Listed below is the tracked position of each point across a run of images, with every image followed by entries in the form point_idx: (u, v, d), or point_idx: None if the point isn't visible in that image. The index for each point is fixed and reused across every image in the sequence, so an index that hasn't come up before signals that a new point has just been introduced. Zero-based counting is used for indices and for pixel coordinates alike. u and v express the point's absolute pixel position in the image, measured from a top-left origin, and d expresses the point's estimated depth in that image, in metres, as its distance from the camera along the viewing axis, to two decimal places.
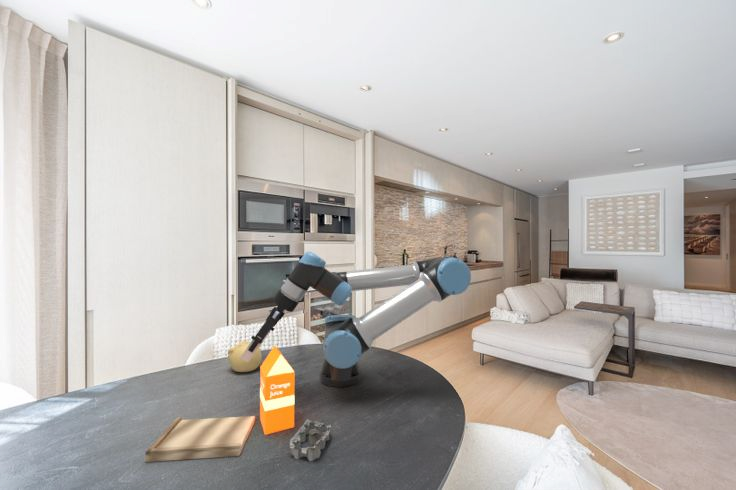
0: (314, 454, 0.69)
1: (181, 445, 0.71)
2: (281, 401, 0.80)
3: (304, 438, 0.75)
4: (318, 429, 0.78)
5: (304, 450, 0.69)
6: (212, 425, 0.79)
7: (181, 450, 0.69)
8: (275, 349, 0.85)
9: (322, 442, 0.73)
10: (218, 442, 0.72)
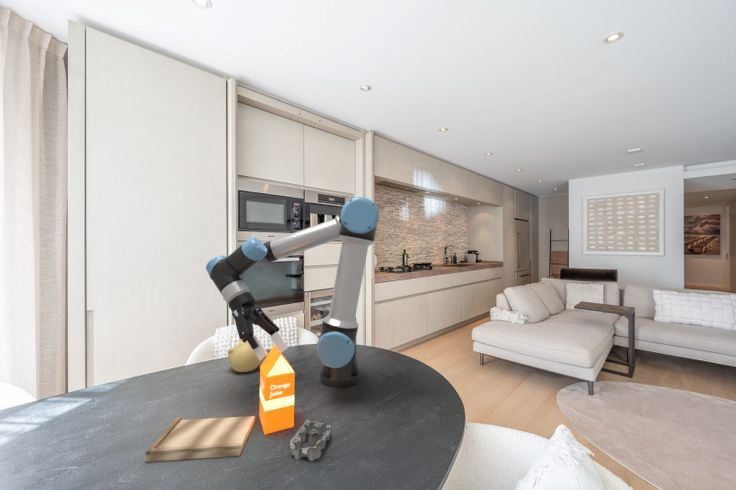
0: (315, 454, 0.69)
1: (181, 445, 0.71)
2: (281, 401, 0.80)
3: (304, 438, 0.75)
4: (318, 429, 0.78)
5: (305, 450, 0.69)
6: (212, 425, 0.79)
7: (181, 450, 0.69)
8: (275, 349, 0.84)
9: (322, 442, 0.73)
10: (218, 442, 0.72)
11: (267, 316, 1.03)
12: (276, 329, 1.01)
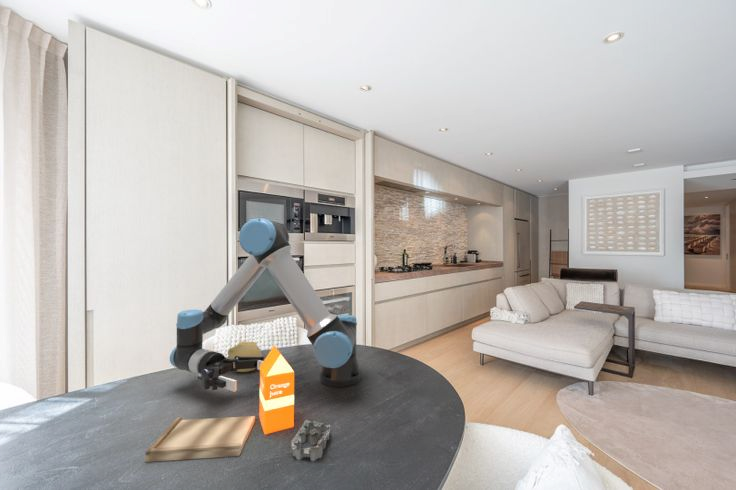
0: (316, 454, 0.69)
1: (181, 445, 0.71)
2: (281, 400, 0.80)
3: (304, 439, 0.75)
4: (318, 429, 0.77)
5: (306, 450, 0.69)
6: (212, 425, 0.79)
7: (181, 450, 0.69)
8: (275, 349, 0.85)
9: (323, 442, 0.73)
10: (218, 442, 0.72)
11: None
12: (258, 359, 0.97)
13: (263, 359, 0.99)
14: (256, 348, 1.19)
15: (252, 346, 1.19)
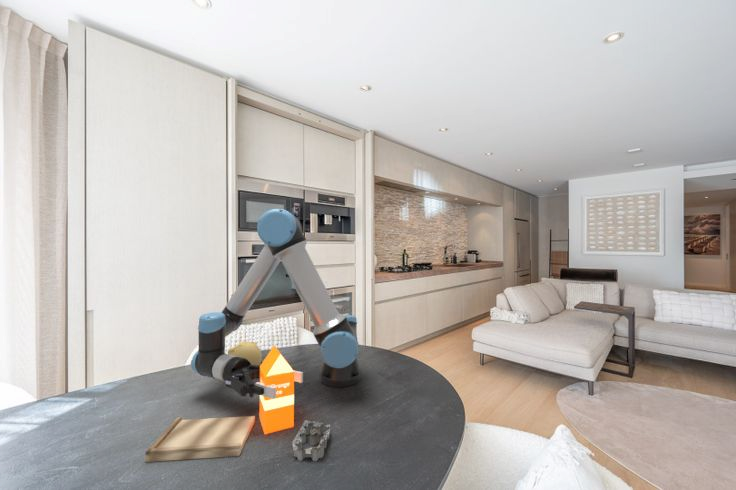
0: (318, 454, 0.69)
1: (181, 445, 0.71)
2: (281, 400, 0.80)
3: (304, 439, 0.75)
4: (317, 429, 0.77)
5: (308, 451, 0.69)
6: (212, 425, 0.79)
7: (181, 450, 0.69)
8: (274, 349, 0.85)
9: (324, 441, 0.73)
10: (218, 442, 0.72)
11: None
12: None
13: None
14: (256, 348, 1.19)
15: (252, 346, 1.19)
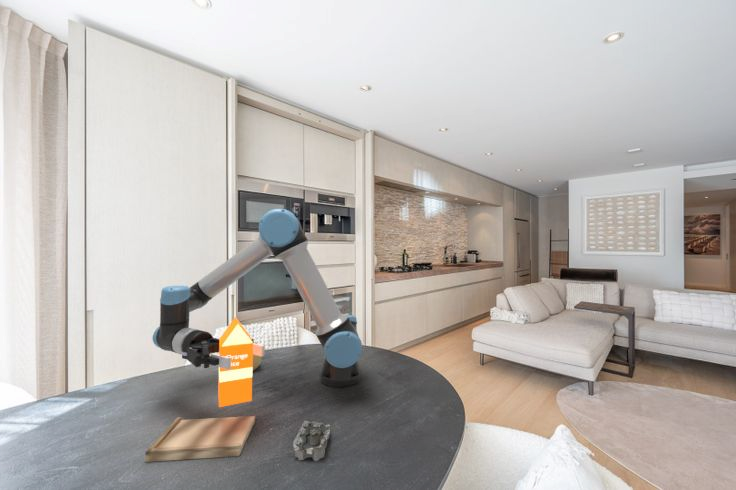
0: (319, 454, 0.69)
1: (181, 445, 0.71)
2: (238, 372, 0.76)
3: (304, 439, 0.75)
4: (317, 429, 0.77)
5: (309, 451, 0.69)
6: (212, 425, 0.79)
7: (181, 450, 0.69)
8: (235, 320, 0.81)
9: (325, 441, 0.73)
10: (218, 442, 0.72)
11: None
12: None
13: (253, 341, 0.88)
14: None
15: None
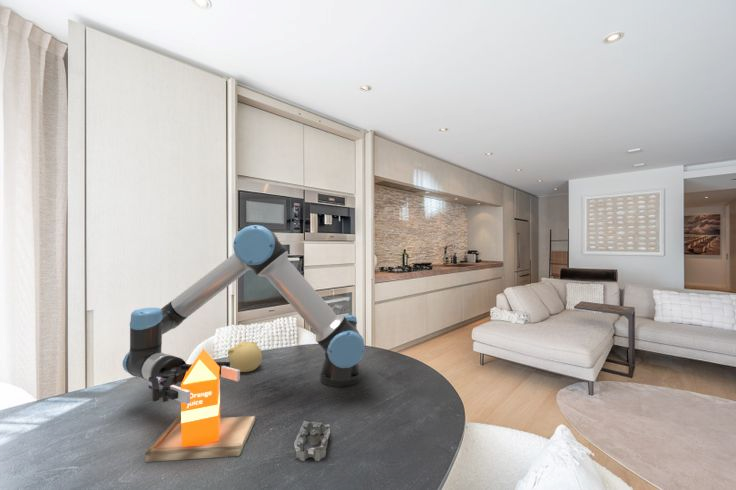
0: (321, 453, 0.69)
1: (181, 445, 0.71)
2: (201, 411, 0.71)
3: (304, 440, 0.75)
4: (317, 429, 0.77)
5: (310, 451, 0.69)
6: None
7: (181, 450, 0.69)
8: (200, 353, 0.77)
9: (325, 441, 0.73)
10: (218, 442, 0.72)
11: None
12: (222, 364, 0.84)
13: (229, 364, 0.86)
14: (256, 348, 1.19)
15: (252, 346, 1.19)
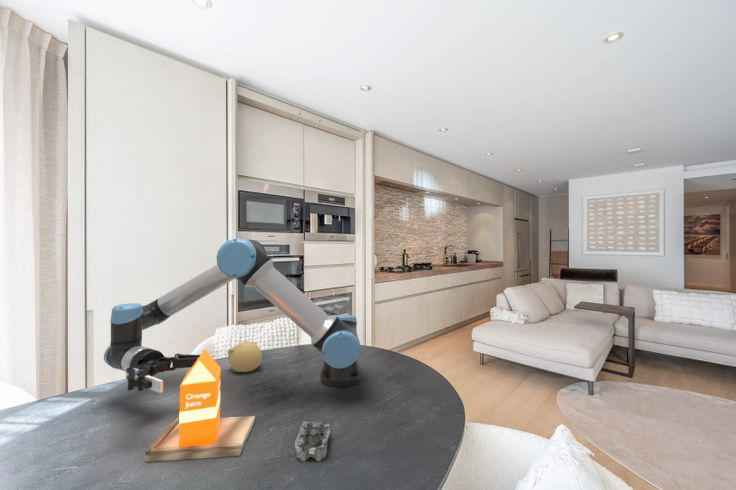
0: (322, 453, 0.69)
1: None
2: (200, 413, 0.71)
3: (304, 440, 0.75)
4: (317, 429, 0.77)
5: (311, 451, 0.69)
6: None
7: (181, 450, 0.69)
8: (202, 354, 0.77)
9: (326, 441, 0.73)
10: (218, 442, 0.72)
11: None
12: None
13: None
14: (256, 348, 1.19)
15: (252, 346, 1.19)
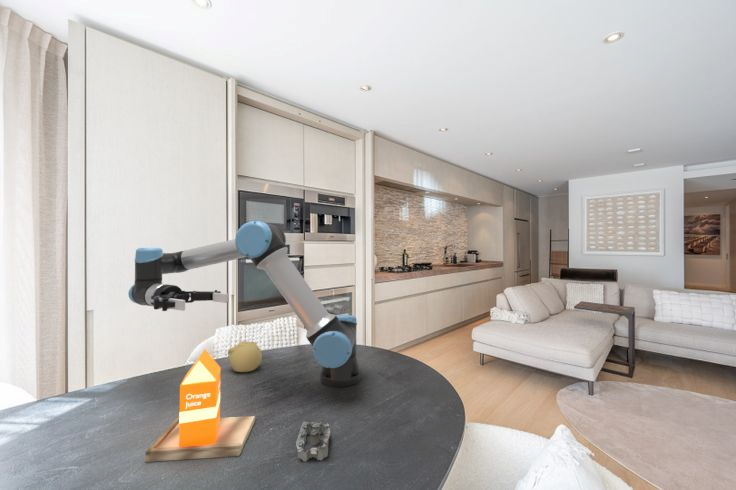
0: (323, 453, 0.69)
1: None
2: (200, 413, 0.71)
3: (305, 440, 0.74)
4: (316, 429, 0.77)
5: (313, 451, 0.69)
6: None
7: (181, 450, 0.69)
8: (202, 354, 0.77)
9: (326, 440, 0.73)
10: (218, 442, 0.72)
11: (203, 291, 1.01)
12: (214, 292, 0.99)
13: None
14: (256, 348, 1.19)
15: (252, 346, 1.19)
